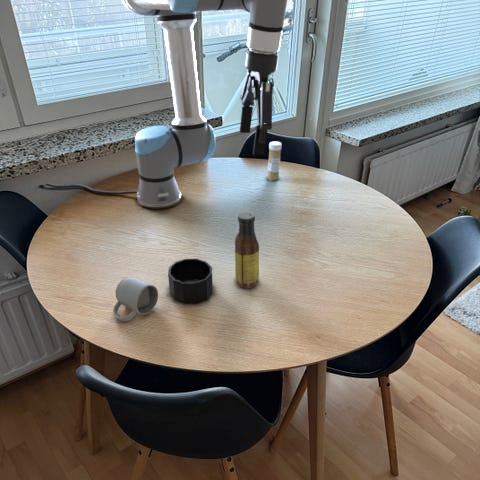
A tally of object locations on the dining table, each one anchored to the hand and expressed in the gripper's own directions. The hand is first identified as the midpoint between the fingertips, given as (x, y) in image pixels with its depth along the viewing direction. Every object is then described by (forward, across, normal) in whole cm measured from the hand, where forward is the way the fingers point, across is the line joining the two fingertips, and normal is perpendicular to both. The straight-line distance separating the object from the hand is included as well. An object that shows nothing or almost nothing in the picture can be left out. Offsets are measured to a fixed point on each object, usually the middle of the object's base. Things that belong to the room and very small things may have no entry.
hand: (251, 142), depth 114 cm
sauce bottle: (+29, -22, +4) cm, 37 cm away
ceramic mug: (+30, -27, +34) cm, 53 cm away
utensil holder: (+29, -23, +19) cm, 42 cm away
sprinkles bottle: (+31, +41, -24) cm, 57 cm away
